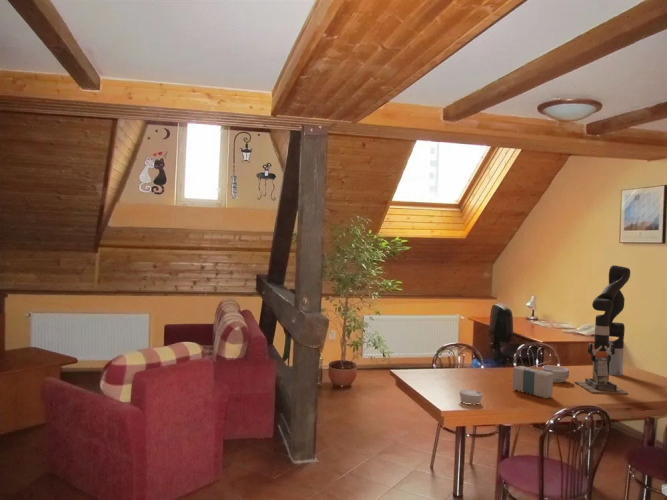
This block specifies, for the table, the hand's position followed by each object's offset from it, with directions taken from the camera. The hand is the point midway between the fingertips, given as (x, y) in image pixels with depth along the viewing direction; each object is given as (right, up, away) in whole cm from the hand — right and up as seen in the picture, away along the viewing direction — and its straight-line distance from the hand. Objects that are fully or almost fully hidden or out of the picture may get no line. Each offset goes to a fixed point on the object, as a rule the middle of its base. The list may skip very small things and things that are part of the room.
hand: (600, 361), depth 308 cm
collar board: (0, -16, 0) cm, 16 cm away
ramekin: (-84, -14, -34) cm, 91 cm away
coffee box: (0, -15, 0) cm, 15 cm away
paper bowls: (-20, -15, +15) cm, 29 cm away
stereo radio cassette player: (-45, -15, -15) cm, 49 cm away
